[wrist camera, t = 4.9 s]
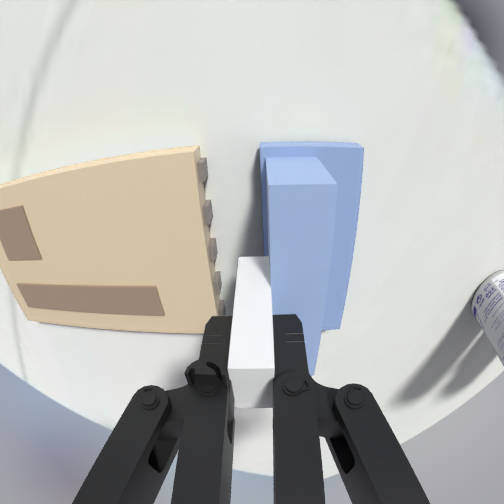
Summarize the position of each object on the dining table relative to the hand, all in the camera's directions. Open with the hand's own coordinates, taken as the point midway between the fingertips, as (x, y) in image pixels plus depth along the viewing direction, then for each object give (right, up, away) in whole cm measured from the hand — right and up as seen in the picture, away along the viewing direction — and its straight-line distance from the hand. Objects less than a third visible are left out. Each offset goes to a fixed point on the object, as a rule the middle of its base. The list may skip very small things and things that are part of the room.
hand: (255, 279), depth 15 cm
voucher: (-12, +1, +3) cm, 12 cm away
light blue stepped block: (+3, +2, +2) cm, 4 cm away
